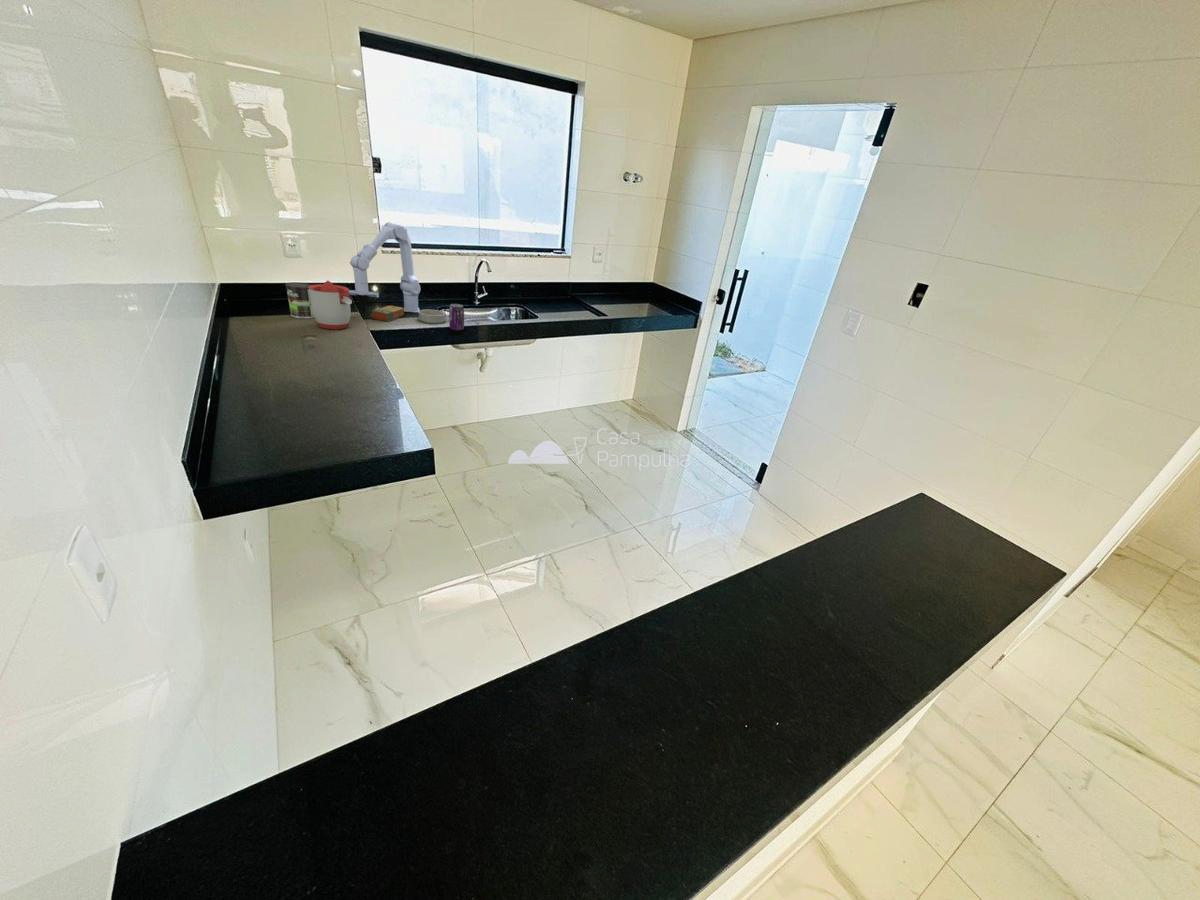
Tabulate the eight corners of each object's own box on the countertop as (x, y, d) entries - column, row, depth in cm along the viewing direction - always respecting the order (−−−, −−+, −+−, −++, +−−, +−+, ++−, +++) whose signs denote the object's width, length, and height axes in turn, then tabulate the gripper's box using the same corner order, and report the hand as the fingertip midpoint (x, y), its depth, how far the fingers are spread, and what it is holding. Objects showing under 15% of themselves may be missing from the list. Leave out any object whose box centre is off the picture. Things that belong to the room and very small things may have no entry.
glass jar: (301, 319, 212) (296, 287, 205) (285, 315, 215) (279, 283, 208) (321, 316, 221) (317, 285, 214) (305, 312, 223) (300, 281, 217)
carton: (404, 315, 243) (404, 307, 241) (387, 321, 228) (386, 313, 226) (389, 313, 243) (389, 304, 241) (371, 318, 229) (370, 310, 227)
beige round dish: (419, 316, 246) (418, 308, 244) (445, 318, 250) (445, 310, 248) (418, 322, 235) (417, 314, 233) (445, 324, 239) (445, 316, 237)
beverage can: (461, 332, 231) (461, 307, 225) (447, 330, 230) (447, 305, 225) (465, 328, 237) (465, 305, 232) (451, 326, 237) (451, 302, 231)
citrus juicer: (341, 334, 202) (335, 286, 192) (305, 326, 204) (297, 279, 194) (364, 327, 215) (359, 282, 206) (330, 320, 217) (324, 275, 208)
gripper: (343, 282, 219) (346, 311, 225) (376, 285, 224) (379, 313, 230) (345, 279, 225) (348, 308, 231) (378, 282, 230) (380, 310, 236)
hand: (364, 310), depth 231 cm, fingers closed
